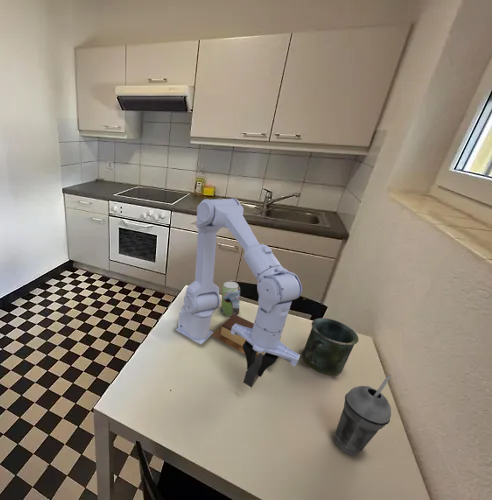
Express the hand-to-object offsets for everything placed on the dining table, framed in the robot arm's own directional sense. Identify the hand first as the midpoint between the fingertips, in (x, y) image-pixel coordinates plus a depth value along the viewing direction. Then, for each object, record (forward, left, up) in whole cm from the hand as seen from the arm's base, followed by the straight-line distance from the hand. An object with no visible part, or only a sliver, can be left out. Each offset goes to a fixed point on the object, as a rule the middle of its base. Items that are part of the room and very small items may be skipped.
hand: (255, 370), depth 66 cm
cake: (-12, +19, -8) cm, 24 cm away
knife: (0, +5, -1) cm, 5 cm away
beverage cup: (+20, +4, -9) cm, 22 cm away
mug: (+10, +25, -9) cm, 28 cm away
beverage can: (-20, +29, -9) cm, 36 cm away
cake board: (-9, +19, -8) cm, 22 cm away
